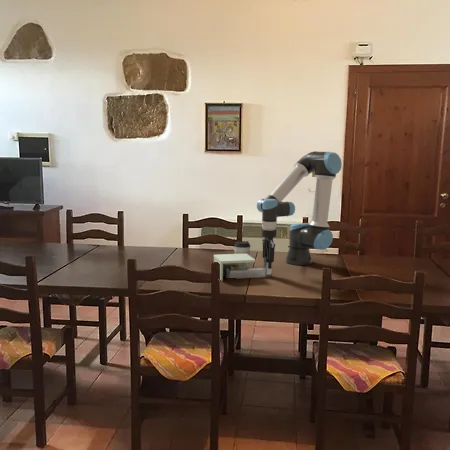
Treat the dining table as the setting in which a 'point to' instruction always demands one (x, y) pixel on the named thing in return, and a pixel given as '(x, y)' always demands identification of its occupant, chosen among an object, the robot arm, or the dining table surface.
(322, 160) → the robot arm
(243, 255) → the shelf nook
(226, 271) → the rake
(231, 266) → the block
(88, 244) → the dining table surface
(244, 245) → the coffee cup
